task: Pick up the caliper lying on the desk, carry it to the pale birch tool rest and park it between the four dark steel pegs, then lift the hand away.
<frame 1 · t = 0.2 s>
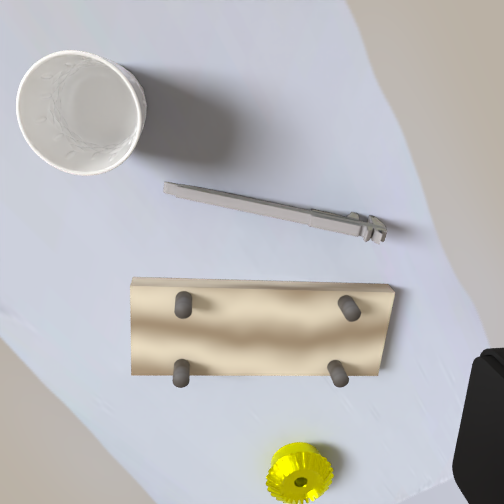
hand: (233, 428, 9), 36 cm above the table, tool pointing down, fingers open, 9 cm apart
caliper: (271, 202, 45), on the table
tool rest: (260, 324, 50), on the table
gear: (295, 460, 57), on the table
white cup: (107, 103, 40), on the table
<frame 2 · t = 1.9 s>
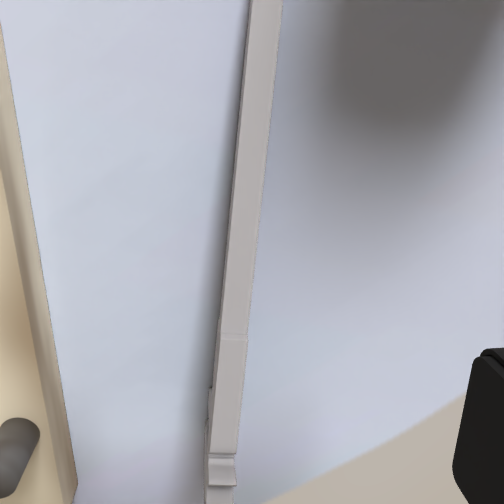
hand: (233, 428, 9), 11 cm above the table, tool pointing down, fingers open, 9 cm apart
caliper: (237, 224, 20), on the table
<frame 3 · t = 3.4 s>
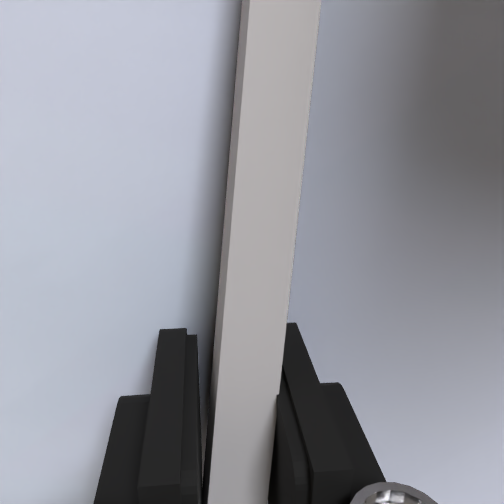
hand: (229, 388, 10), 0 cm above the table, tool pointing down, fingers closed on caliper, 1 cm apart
caliper: (228, 362, 11), on the table, touching gripper
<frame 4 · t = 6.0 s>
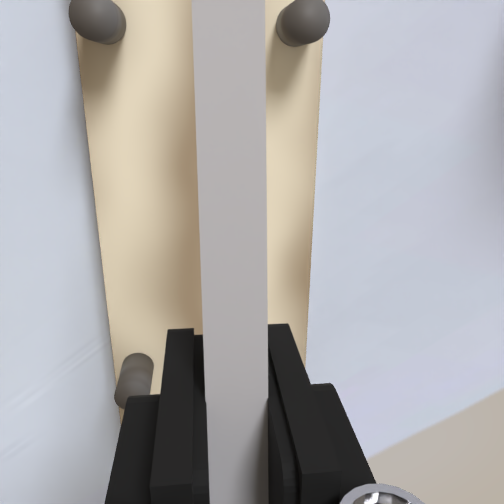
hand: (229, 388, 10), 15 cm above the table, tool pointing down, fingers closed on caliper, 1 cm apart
caliper: (226, 363, 11), point 14 cm above the table, touching gripper
tool rest: (206, 203, 24), on the table
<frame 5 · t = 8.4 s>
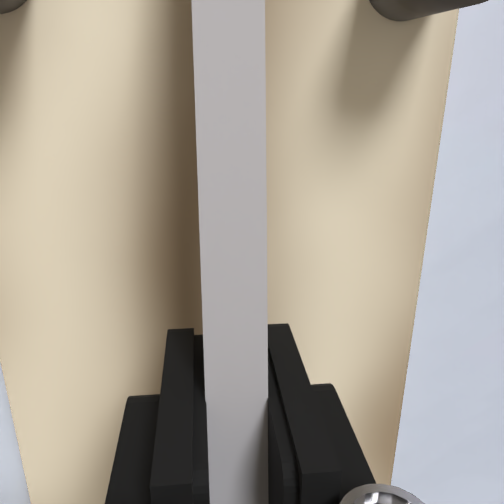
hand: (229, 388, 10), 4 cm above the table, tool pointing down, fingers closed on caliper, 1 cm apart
caliper: (226, 363, 11), point 3 cm above the table, touching gripper
tool rest: (212, 308, 13), on the table
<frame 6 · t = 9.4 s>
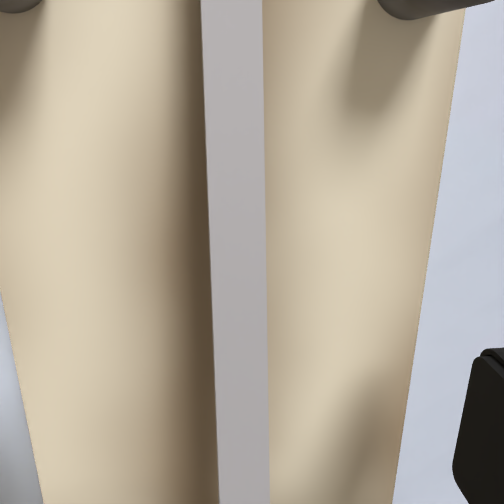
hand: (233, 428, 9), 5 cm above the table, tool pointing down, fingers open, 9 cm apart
caliper: (231, 329, 12), point 2 cm above the table, touching tool rest
tool rest: (220, 303, 14), on the table
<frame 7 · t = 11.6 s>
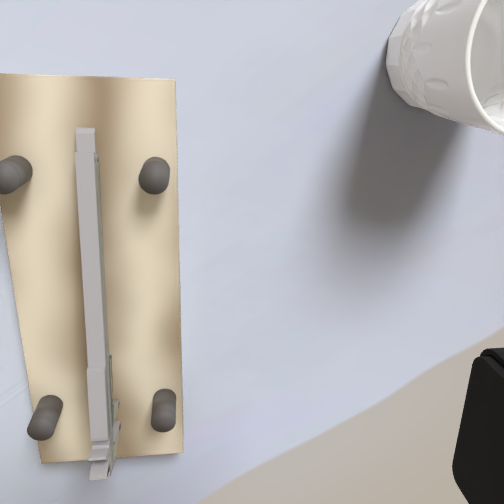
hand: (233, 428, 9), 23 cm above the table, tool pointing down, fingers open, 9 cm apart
caliper: (102, 292, 30), point 2 cm above the table, touching tool rest
tool rest: (104, 283, 32), on the table
white cup: (435, 53, 30), on the table
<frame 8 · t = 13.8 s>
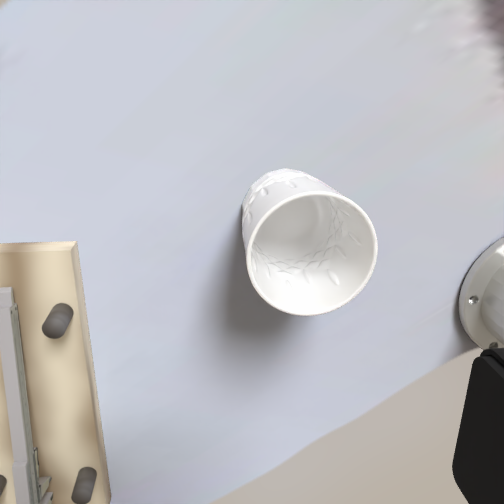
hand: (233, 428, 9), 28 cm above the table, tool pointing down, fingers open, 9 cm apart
caliper: (30, 398, 39), point 2 cm above the table, touching tool rest
tool rest: (35, 386, 40), on the table
white cup: (283, 209, 37), on the table
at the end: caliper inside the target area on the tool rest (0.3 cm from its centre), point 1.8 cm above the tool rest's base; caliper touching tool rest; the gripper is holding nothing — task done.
